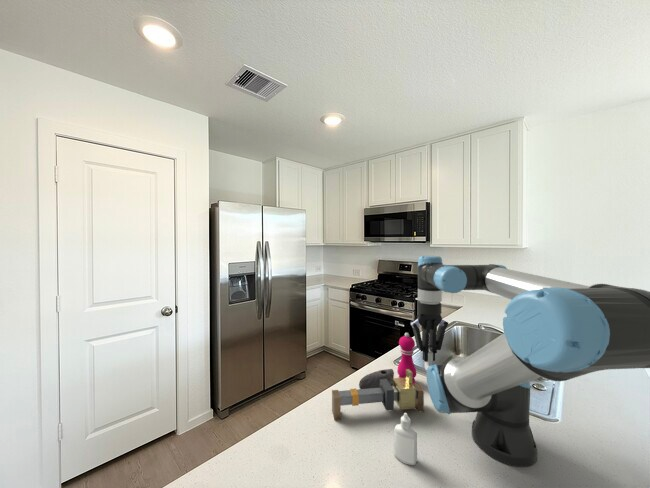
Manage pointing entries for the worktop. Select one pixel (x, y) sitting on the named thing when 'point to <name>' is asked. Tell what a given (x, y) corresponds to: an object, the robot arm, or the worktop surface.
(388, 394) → the ring
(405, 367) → the pepper mill
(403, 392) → the sleeve
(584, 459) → the worktop surface
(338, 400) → the bar clamp
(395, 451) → the eye dropper bottle
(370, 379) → the perforated stone tool
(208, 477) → the worktop surface
